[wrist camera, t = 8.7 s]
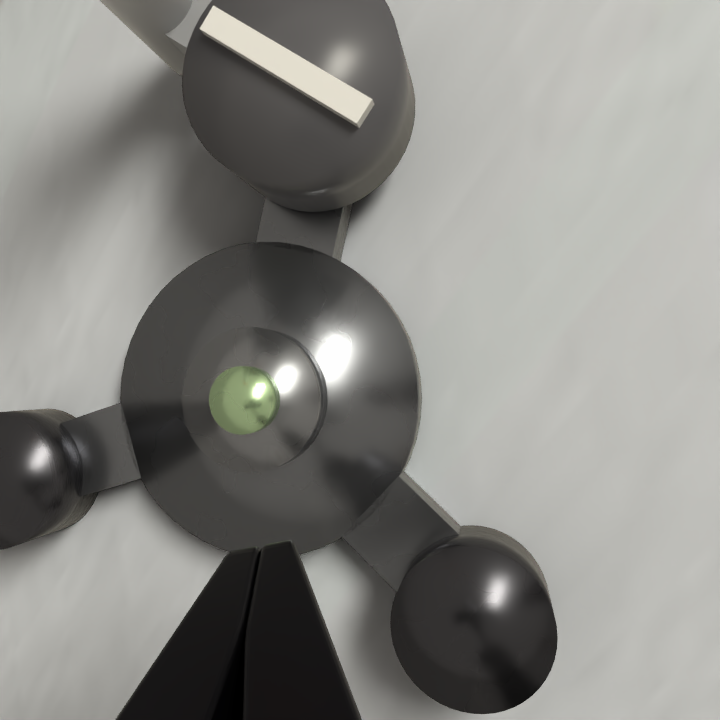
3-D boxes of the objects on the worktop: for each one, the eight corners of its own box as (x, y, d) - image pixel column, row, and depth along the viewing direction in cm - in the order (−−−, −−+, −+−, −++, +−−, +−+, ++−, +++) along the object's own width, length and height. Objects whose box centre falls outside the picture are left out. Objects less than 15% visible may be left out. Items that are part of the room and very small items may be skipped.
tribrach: (523, 709, 19) (527, 761, 16) (-16, 509, 23) (-80, 526, 20) (680, 125, 18) (710, 84, 16) (98, 33, 22) (47, -11, 20)
